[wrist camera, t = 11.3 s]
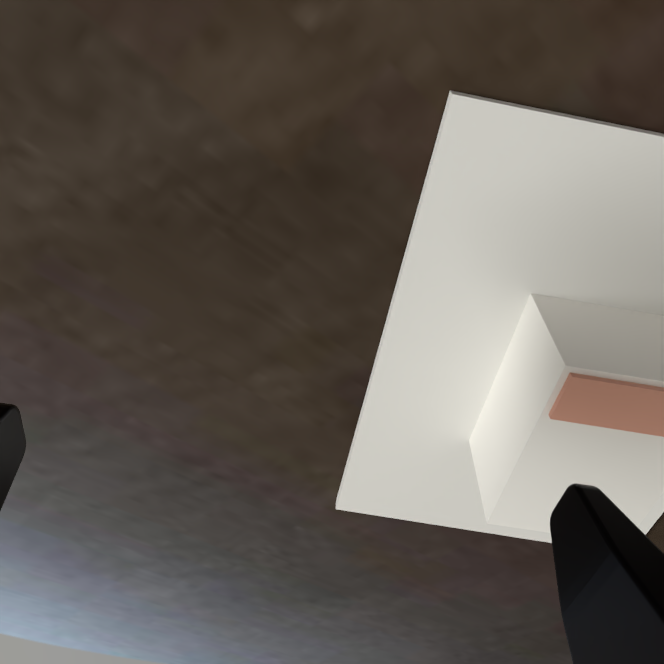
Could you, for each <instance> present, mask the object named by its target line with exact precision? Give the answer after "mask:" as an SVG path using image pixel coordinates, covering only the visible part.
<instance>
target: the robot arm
mask: <svg viewBox="0 0 664 664" xmlns="http://www.w3.org/2000/svg"><path fill="white" fill-rule="evenodd" d="M25 448H26V439H25V434H24V429H23V425H22V420H21V415H20V411H19V409H18V408H17V407H16V406H15V405H12V404H5V403H0V511H1V508H2V506H3V503H4V501H5V499H6V496H7V494H8V492H9V489H10V487H11V484H12V482H13V480H14V477H15V475H16V473H17V470H18V468H19V466H20V463H21V461H22V458H23V456H24V453H25ZM550 532H551V539H552V547H553V554H554V562H555V570H556V577H557V585H558V592H559V600H560V606H561V612H562V618H563V622H564V627H565V632H566V636H567V640H568V644H569V648H570V652H571V657H572V661H573V664H664V553H663V552H662V551H661V550H660V549H659V548H658V547H657V546H656V545H655V544H654V543H653V542H652V541H651V540H650V539H649V538H648V537H647V536H646V535H645V534H644V533H643V532H642V531H641V530H640V529H639V528H638V527H637V526H636V525H635V524H634V523H633V522H632V521H631V520H630V519H629V518H628V517H627V516H626V515H625V514H624V513H623V512H622V511H621V510H620V509H619V508H618V507H617V506H616V505H615V504H614V503H613V502H612V501H611V500H610V499H609V498H608V497H607V496H606V495H605V494H604V493H603V492H602V491H601V490H600V489H599V488H597V487H595V486H591V485H584V484H577V483H573V484H571V485H569V486H568V488H567V489H566V491H565V492H564V494H563V495H562V497H561V498H560V500H559V502H558V503H557V505H556V506H555V508H554V510H553V511H552V514H551V517H550Z"/></svg>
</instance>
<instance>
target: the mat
mask: <svg viewBox="0 0 664 664" xmlns="http://www.w3.org/2000/svg"><path fill="white" fill-rule="evenodd" d="M531 293H532V294H538V295H544V296H550V297H555V298H561V299H567V300H573V301H579V302H585V303H591V304H597V305H603V306H609V307H615V308H621V309H627V310H633V311H639V312H645V313H651V314H656V315H662V316H664V134H662V133H657V132H652V131H648V130H643V129H638V128H633V127H628V126H623V125H618V124H613V123H608V122H603V121H598V120H593V119H588V118H583V117H579V116H574V115H569V114H564V113H559V112H554V111H549V110H544V109H539V108H534V107H529V106H524V105H519V104H515V103H510V102H505V101H500V100H495V99H490V98H485V97H480V96H475V95H470V94H465V93H460V92H455V91H450V92H449V96H448V99H447V103H446V107H445V110H444V114H443V117H442V121H441V125H440V128H439V132H438V135H437V139H436V143H435V146H434V150H433V153H432V157H431V161H430V164H429V168H428V171H427V175H426V179H425V182H424V186H423V189H422V193H421V197H420V200H419V204H418V207H417V211H416V215H415V218H414V222H413V225H412V229H411V233H410V236H409V240H408V243H407V247H406V251H405V254H404V258H403V261H402V265H401V269H400V272H399V276H398V279H397V283H396V287H395V290H394V294H393V297H392V301H391V305H390V308H389V312H388V315H387V319H386V323H385V326H384V330H383V333H382V337H381V341H380V344H379V348H378V351H377V355H376V359H375V362H374V366H373V369H372V373H371V377H370V380H369V384H368V387H367V391H366V395H365V398H364V402H363V405H362V409H361V413H360V416H359V420H358V423H357V427H356V431H355V434H354V438H353V441H352V445H351V449H350V452H349V456H348V459H347V463H346V467H345V470H344V474H343V477H342V481H341V485H340V488H339V492H338V495H337V499H336V509H338V510H344V511H351V512H357V513H364V514H370V515H376V516H383V517H389V518H396V519H402V520H408V521H415V522H421V523H428V524H434V525H440V526H447V527H453V528H460V529H466V530H472V531H479V532H485V533H492V534H498V535H504V536H511V537H517V538H524V539H530V540H537V541H543V542H549V543H552V539H551V533H548V532H541V531H534V530H527V529H520V528H513V527H507V526H500V525H493V524H487V523H486V518H485V514H484V509H483V504H482V499H481V495H480V490H479V485H478V481H477V476H476V471H475V467H474V462H473V457H472V453H471V448H470V443H469V439H470V437H471V435H472V432H473V430H474V427H475V425H476V423H477V420H478V418H479V416H480V413H481V411H482V408H483V406H484V404H485V401H486V399H487V396H488V394H489V392H490V389H491V387H492V384H493V382H494V380H495V377H496V375H497V372H498V370H499V368H500V365H501V363H502V360H503V358H504V356H505V353H506V351H507V349H508V346H509V344H510V341H511V339H512V337H513V334H514V332H515V329H516V327H517V325H518V322H519V320H520V317H521V315H522V313H523V310H524V308H525V305H526V303H527V301H528V298H529V296H530V294H531ZM663 512H664V492H663V494H662V495H661V496H660V498H659V499H658V500H657V502H656V503H655V505H654V506H653V507H652V509H651V510H650V511H649V513H648V514H647V515H646V517H645V518H644V519H643V521H642V522H641V523H640V525H639V526H638V528H639V529H640V530H641V531H642V532H643V533H644V534H645V535H646V534H647V532H648V531H649V530H650V528H651V527H652V526H653V525H654V523H655V522H656V521H657V520H658V518H659V517H660V516H661V515H662V513H663Z"/></svg>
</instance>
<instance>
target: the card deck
mask: <svg viewBox="0 0 664 664" xmlns="http://www.w3.org/2000/svg"><path fill="white" fill-rule="evenodd" d="M469 443H470V448H471V453H472V457H473V462H474V467H475V471H476V476H477V481H478V485H479V490H480V495H481V499H482V504H483V509H484V514H485V518H486V523H487V524H493V525H500V526H507V527H513V528H520V529H527V530H534V531H541V532H548V533H551V532H550V517H551V514H552V511H553V510H554V508H555V506H556V505H557V503H558V502H559V500H560V498H561V497H562V495H563V494H564V492H565V491H566V489H567V488H568V486H569V485H571V484H573V483H577V484H584V485H591V486H595V487H597V488H599V489H600V490H601V491H602V492H603V493H604V494H605V495H606V496H607V497H608V498H609V499H610V500H611V501H612V502H613V503H614V504H615V505H616V506H617V507H618V508H619V509H620V510H621V511H622V512H623V513H624V514H625V515H626V516H627V517H628V518H629V519H630V520H631V521H632V522H633V523H634V524H635V525H636V526H637V527H638V526H639V525H640V523H641V522H642V521H643V519H644V518H645V517H646V515H647V514H648V513H649V511H650V510H651V509H652V507H653V506H654V505H655V503H656V502H657V500H658V499H659V498H660V496H661V495H662V494H663V492H664V316H662V315H656V314H651V313H645V312H639V311H633V310H627V309H621V308H615V307H609V306H603V305H597V304H591V303H585V302H579V301H573V300H567V299H561V298H555V297H550V296H544V295H538V294H532V293H531V294H530V296H529V298H528V301H527V303H526V305H525V308H524V310H523V313H522V315H521V317H520V320H519V322H518V325H517V327H516V329H515V332H514V334H513V337H512V339H511V341H510V344H509V346H508V349H507V351H506V353H505V356H504V358H503V360H502V363H501V365H500V368H499V370H498V372H497V375H496V377H495V380H494V382H493V384H492V387H491V389H490V392H489V394H488V396H487V399H486V401H485V404H484V406H483V408H482V411H481V413H480V416H479V418H478V420H477V423H476V425H475V427H474V430H473V432H472V435H471V437H470V439H469Z"/></svg>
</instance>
